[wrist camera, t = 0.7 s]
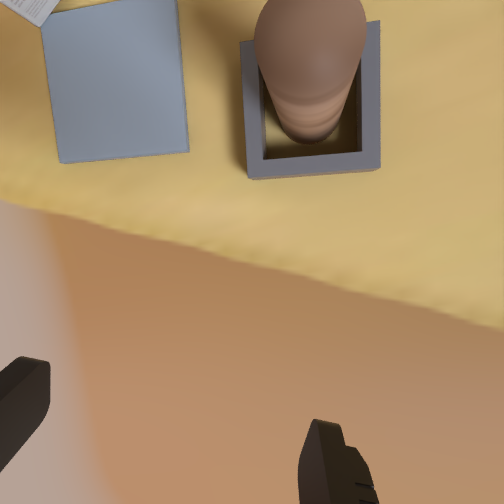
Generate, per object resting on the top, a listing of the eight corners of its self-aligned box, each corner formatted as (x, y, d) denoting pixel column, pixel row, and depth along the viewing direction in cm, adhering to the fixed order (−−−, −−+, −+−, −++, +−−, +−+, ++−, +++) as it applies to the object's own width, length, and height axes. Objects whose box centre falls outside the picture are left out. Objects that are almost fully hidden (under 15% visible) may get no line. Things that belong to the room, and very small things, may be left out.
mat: (44, 20, 28) (39, 16, 27) (176, -5, 25) (173, -10, 25) (64, 163, 29) (59, 163, 29) (189, 152, 27) (187, 151, 27)
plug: (278, 86, 25) (251, -15, 13) (339, 78, 24) (366, -36, 13) (281, 147, 26) (257, 102, 14) (340, 141, 25) (367, 88, 13)
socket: (246, 57, 25) (239, 42, 23) (372, 39, 23) (380, 20, 21) (253, 180, 27) (247, 178, 24) (373, 171, 25) (380, 167, 22)
